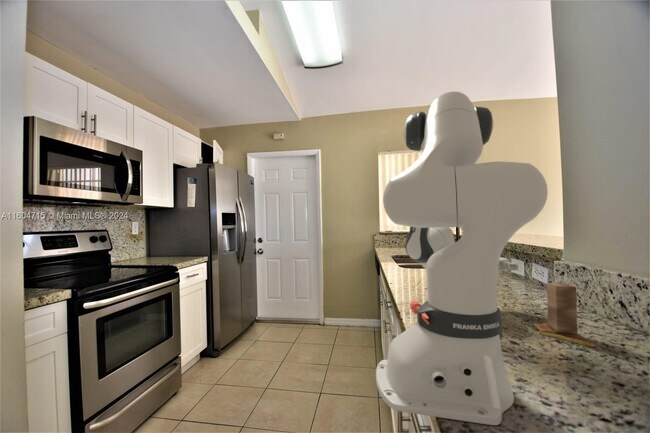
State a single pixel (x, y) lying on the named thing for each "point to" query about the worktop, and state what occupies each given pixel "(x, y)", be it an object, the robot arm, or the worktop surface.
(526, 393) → the worktop surface
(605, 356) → the worktop surface
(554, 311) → the walnut block
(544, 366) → the worktop surface
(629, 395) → the worktop surface
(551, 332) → the shard
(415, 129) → the robot arm
